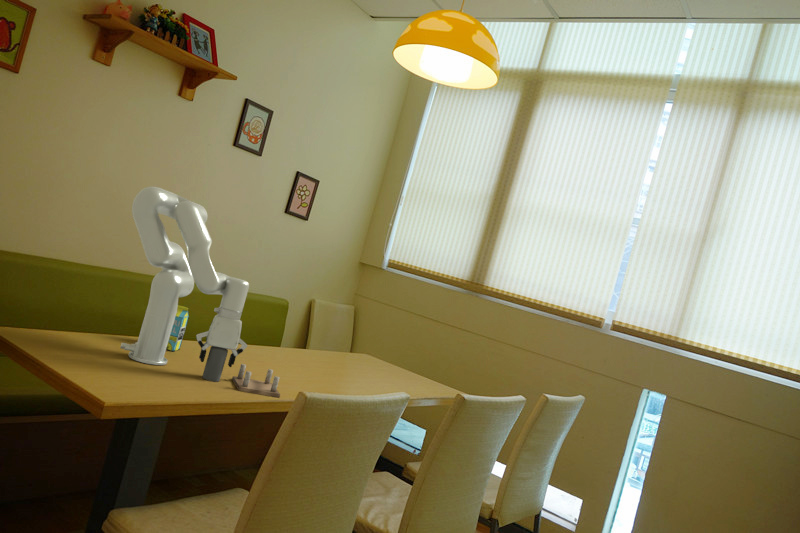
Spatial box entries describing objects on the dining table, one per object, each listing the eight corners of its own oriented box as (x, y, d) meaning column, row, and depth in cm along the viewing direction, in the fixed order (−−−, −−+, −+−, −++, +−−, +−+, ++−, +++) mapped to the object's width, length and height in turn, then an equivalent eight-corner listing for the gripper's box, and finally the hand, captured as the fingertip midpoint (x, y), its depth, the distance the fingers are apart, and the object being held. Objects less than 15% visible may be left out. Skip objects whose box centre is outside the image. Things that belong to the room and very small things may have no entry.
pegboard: (238, 390, 203) (243, 372, 203) (231, 379, 215) (236, 362, 216) (279, 397, 209) (284, 379, 209) (270, 386, 221) (275, 369, 221)
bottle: (214, 382, 204) (226, 338, 204) (198, 377, 205) (211, 333, 206) (222, 380, 210) (234, 338, 210) (207, 375, 211) (219, 333, 211)
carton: (153, 347, 231) (167, 300, 232) (161, 344, 239) (174, 299, 239) (172, 352, 231) (186, 305, 232) (179, 349, 239) (192, 305, 239)
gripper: (205, 310, 201) (190, 361, 201) (256, 321, 208) (243, 371, 208) (202, 306, 208) (188, 356, 207) (252, 317, 215) (239, 365, 215)
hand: (215, 363), depth 208 cm, fingers open, 9 cm apart
